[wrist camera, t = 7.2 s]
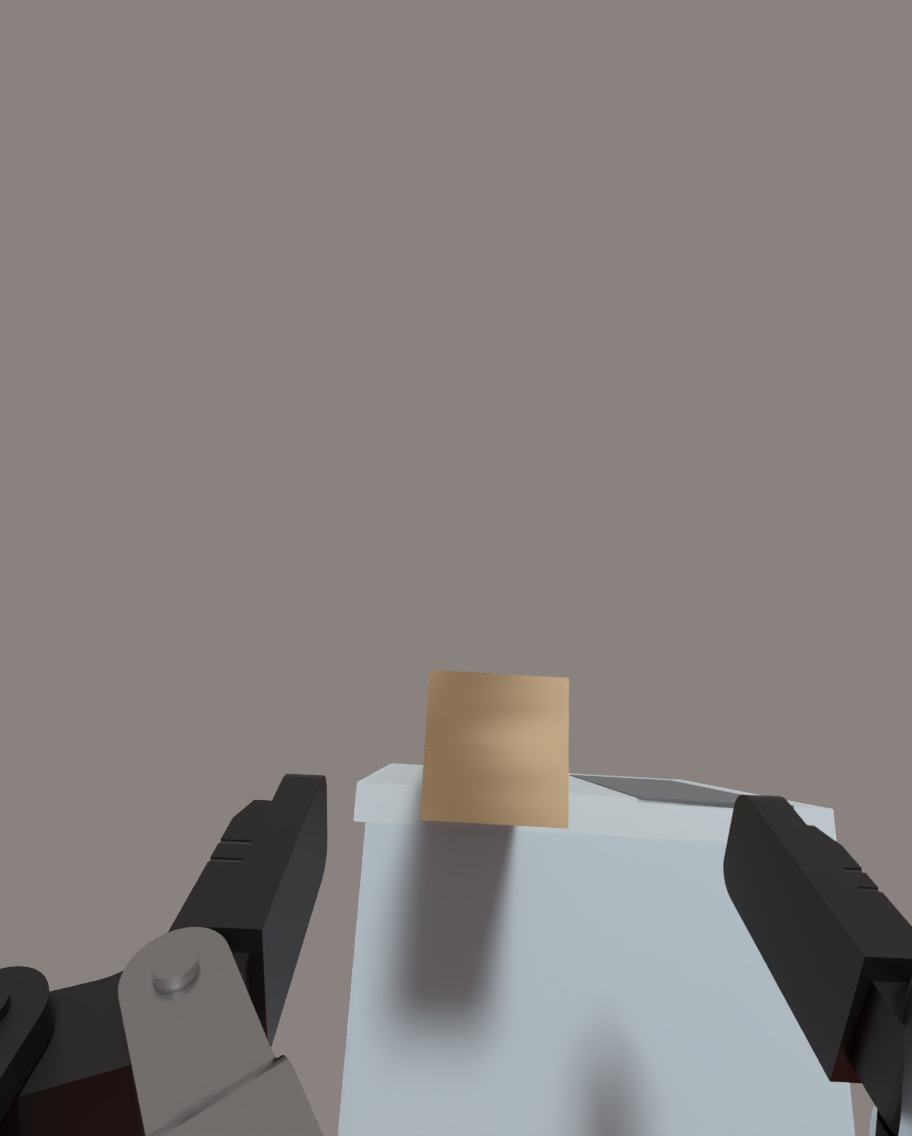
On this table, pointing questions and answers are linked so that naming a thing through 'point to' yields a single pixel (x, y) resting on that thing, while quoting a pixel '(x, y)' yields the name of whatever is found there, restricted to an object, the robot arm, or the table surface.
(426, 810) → the oak batten
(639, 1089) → the light grey cabinet
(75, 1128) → the robot arm
